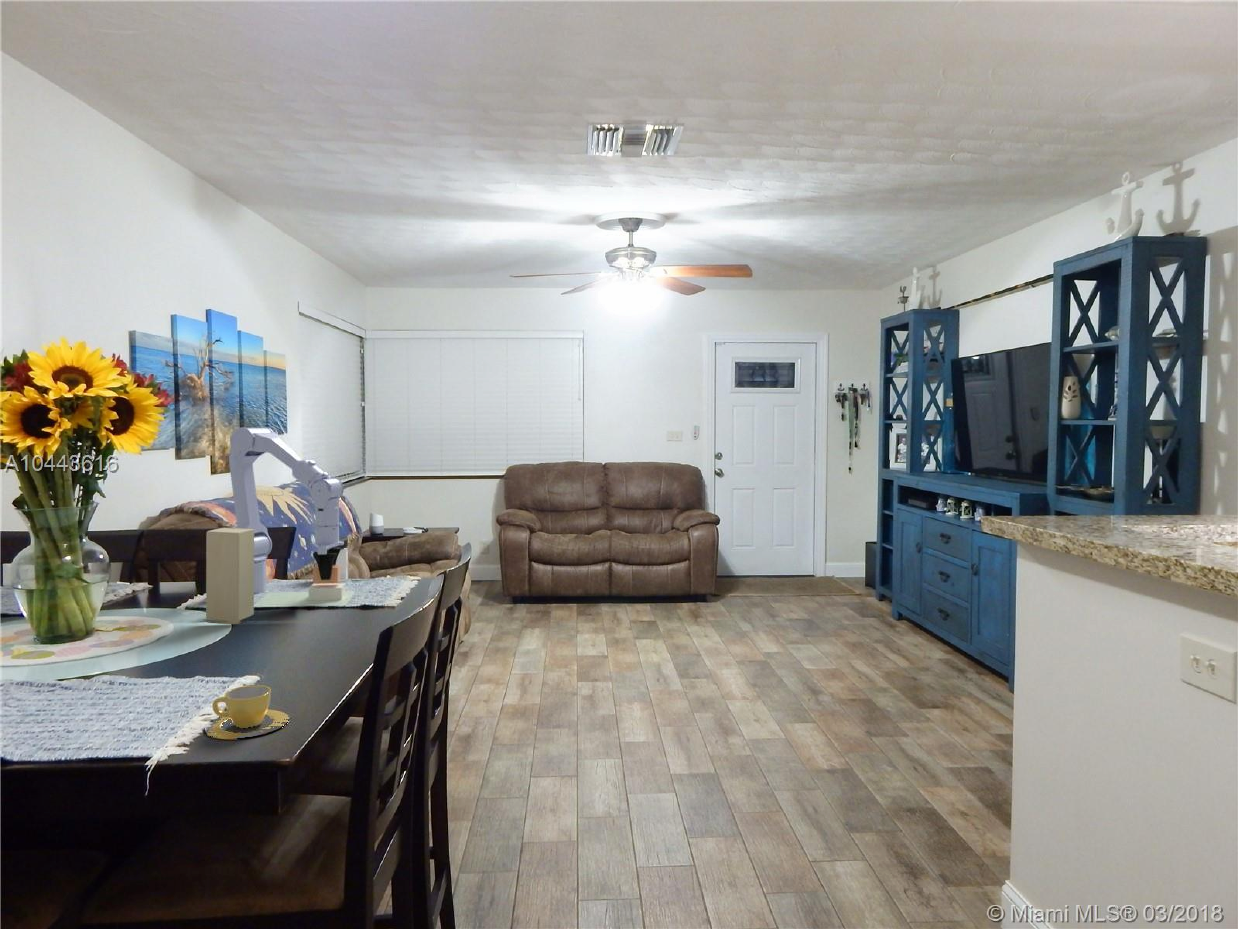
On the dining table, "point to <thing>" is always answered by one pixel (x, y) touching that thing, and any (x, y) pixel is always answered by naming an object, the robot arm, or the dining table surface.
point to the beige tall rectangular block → (229, 575)
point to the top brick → (334, 578)
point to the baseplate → (298, 600)
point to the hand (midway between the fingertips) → (327, 577)
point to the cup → (245, 710)
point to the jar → (343, 559)
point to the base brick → (327, 591)
